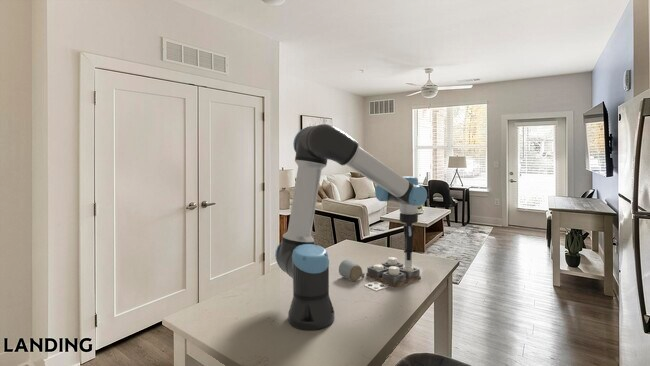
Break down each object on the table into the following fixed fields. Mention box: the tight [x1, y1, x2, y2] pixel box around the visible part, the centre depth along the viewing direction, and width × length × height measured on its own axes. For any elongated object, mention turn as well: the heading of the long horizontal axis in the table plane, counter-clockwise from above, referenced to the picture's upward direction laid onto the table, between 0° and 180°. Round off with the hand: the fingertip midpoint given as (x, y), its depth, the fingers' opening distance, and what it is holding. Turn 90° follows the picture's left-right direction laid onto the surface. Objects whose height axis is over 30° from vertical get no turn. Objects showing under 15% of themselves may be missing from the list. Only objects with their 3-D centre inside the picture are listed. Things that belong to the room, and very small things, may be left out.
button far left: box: [386, 256, 398, 266], centre depth 151 cm, size 4×4×3 cm
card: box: [363, 280, 389, 292], centre depth 136 cm, size 7×7×1 cm
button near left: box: [372, 263, 384, 271], centre depth 146 cm, size 4×4×3 cm
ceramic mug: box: [338, 259, 365, 282], centre depth 145 cm, size 11×8×8 cm
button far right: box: [403, 265, 414, 272], centre depth 144 cm, size 4×4×3 cm
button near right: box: [389, 266, 400, 277], centre depth 139 cm, size 4×4×3 cm
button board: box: [366, 261, 422, 289], centre depth 145 cm, size 16×17×4 cm
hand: (408, 266), depth 144 cm, fingers closed
